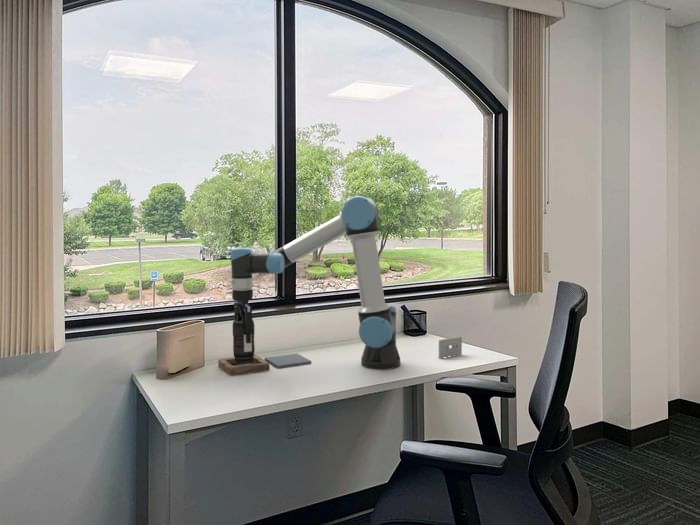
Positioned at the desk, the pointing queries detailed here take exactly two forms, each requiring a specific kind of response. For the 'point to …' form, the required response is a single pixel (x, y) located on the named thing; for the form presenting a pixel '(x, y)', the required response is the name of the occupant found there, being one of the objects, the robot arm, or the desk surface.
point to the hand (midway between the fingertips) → (244, 348)
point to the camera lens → (241, 343)
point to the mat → (287, 360)
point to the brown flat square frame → (256, 367)
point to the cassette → (446, 351)
